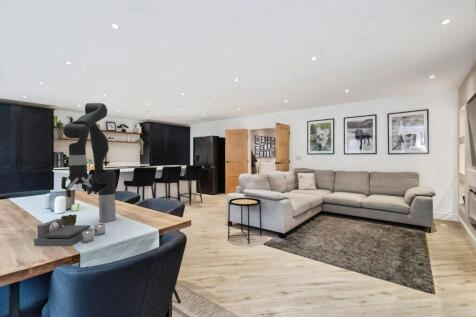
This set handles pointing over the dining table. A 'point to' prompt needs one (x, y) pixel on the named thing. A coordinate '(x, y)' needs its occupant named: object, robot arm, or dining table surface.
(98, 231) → the steel spacer
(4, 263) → the dining table surface
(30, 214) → the dining table surface
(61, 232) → the pan
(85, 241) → the steel spacer
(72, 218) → the cup
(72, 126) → the robot arm
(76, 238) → the scale base
